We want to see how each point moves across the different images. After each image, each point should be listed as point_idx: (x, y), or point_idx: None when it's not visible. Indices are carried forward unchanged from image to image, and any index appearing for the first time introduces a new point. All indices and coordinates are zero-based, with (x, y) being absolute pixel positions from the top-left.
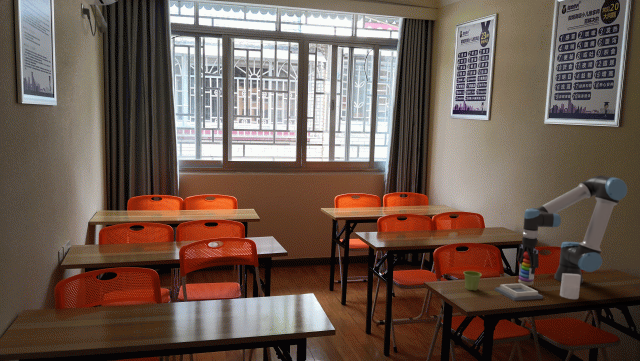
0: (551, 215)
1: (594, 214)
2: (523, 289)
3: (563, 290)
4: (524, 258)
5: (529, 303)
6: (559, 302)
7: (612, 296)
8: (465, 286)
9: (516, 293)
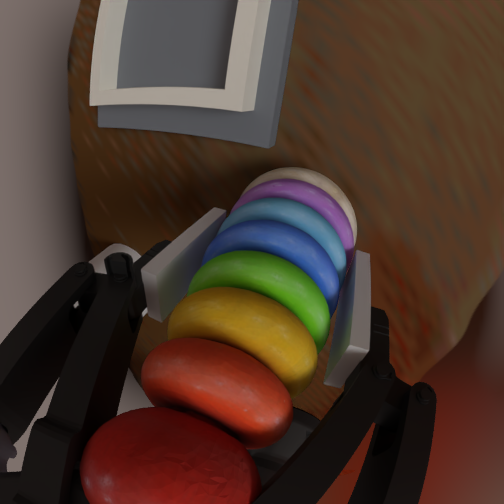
0: None
1: None
2: (200, 85)
3: (103, 261)
4: (302, 446)
5: (89, 16)
6: (77, 165)
7: (137, 365)
8: None
9: None
